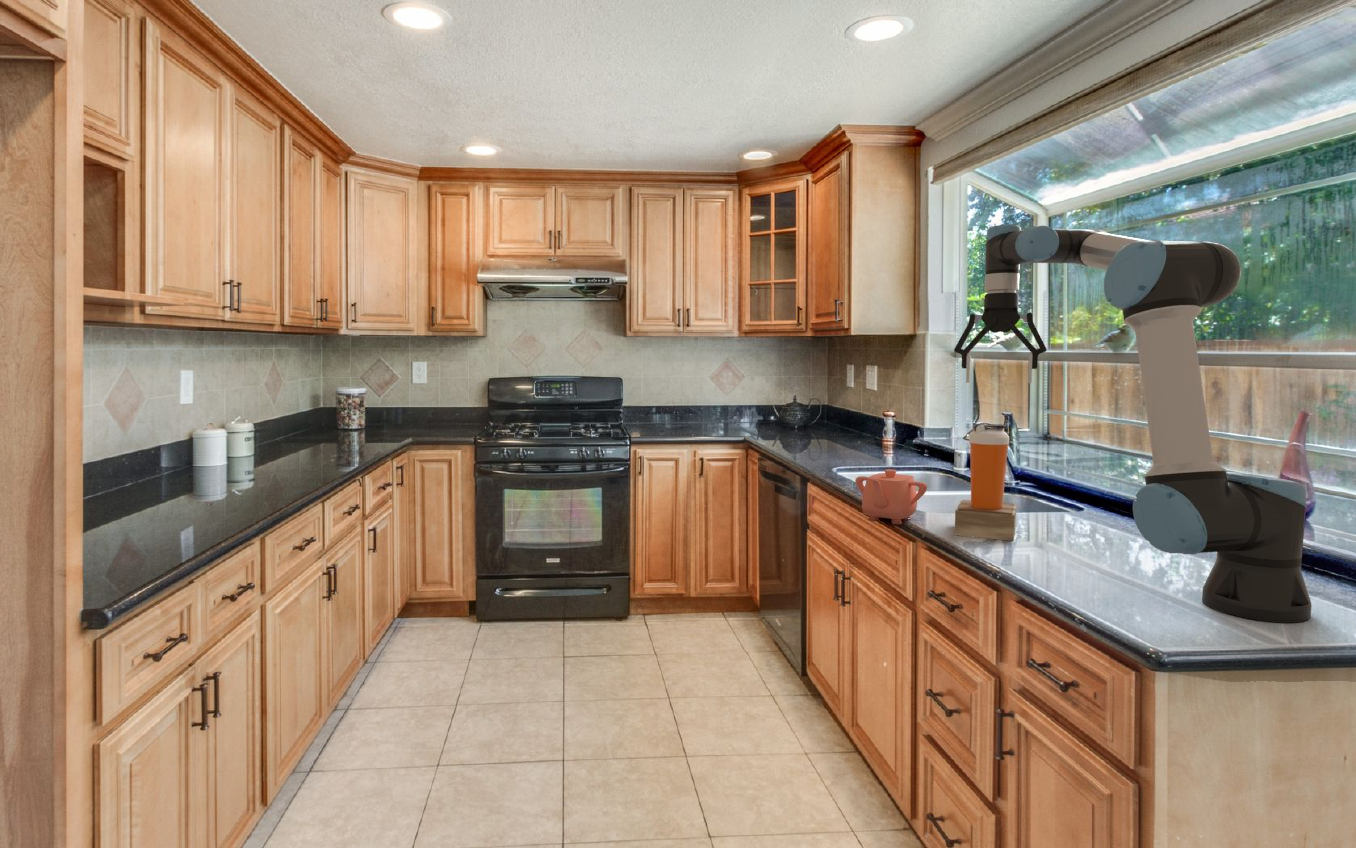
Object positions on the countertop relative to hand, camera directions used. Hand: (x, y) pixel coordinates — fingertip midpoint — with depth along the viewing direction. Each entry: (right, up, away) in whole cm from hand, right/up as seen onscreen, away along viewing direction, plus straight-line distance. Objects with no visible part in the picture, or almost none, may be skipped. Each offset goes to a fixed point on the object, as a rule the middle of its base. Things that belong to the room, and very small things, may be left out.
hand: (998, 382), depth 186 cm
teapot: (-22, -35, +18) cm, 45 cm away
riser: (-2, -36, +4) cm, 36 cm away
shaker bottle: (-2, -30, +3) cm, 30 cm away
